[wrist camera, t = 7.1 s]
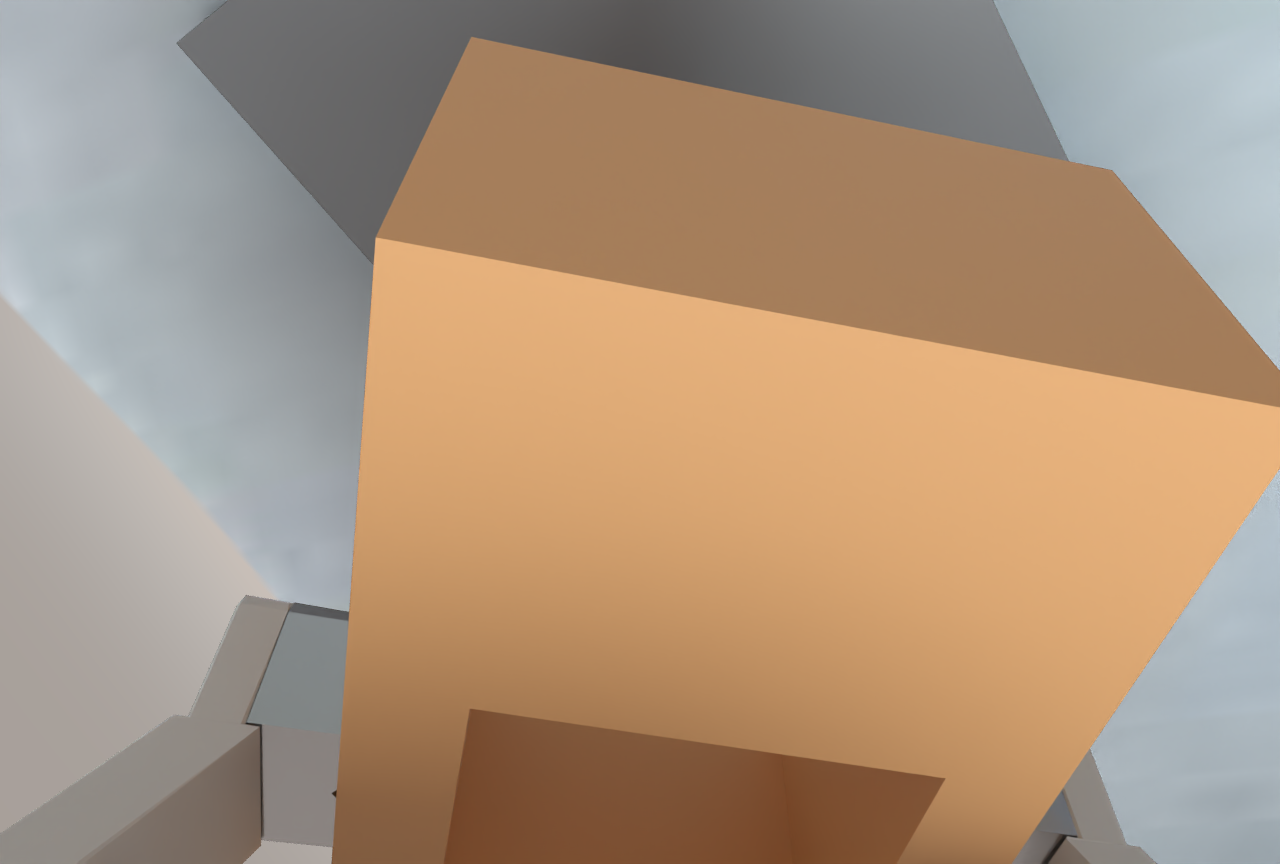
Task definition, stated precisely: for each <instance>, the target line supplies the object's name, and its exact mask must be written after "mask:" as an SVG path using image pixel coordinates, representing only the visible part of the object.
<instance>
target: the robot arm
mask: <svg viewBox="0 0 1280 864" xmlns="http://www.w3.org/2000/svg"><path fill="white" fill-rule="evenodd" d="M348 624H349V612H346V611H340V610H334V609H329V608H323V607H317V606H311V605H306V604H300V603H290V602H284V601H278V600H272V599H266V598H259V597H254V596H248V595H246V596H245V597H244V598H243V599H242V600H241V602H240V603H239V604H238V605H237V606H236V609H235V611H234V613H233V615H232V618H231V620H230V622H229V625H228V627H227V629H226V631H225V634H224V636H223V638H222V640H221V643H220V645H219V647H218V649H217V652H216V654H215V656H214V658H213V661H212V663H211V665H210V668H209V670H208V672H207V675H206V677H205V679H204V681H203V684H202V686H201V688H200V690H199V693H198V695H197V697H196V699H195V702H194V704H193V706H192V708H191V711H190V713H189V715H188V716H180V715H172V716H171V717H169V718H168V719H166V720H165V721H164V722H162V723H161V724H159V725H158V726H156V727H155V728H153V729H152V730H150V731H149V732H148V733H146V734H145V735H143V736H142V737H140V738H139V739H137V740H136V741H134V742H133V743H132V744H130V745H129V746H127V747H126V748H124V749H123V750H121V751H120V752H118V753H117V754H116V755H114V756H113V757H111V758H110V759H108V760H107V761H105V762H104V763H102V764H101V765H100V766H98V767H97V768H95V769H94V770H92V771H91V772H89V773H88V774H86V775H85V776H83V777H82V778H80V779H79V780H78V781H76V782H75V783H73V784H72V785H70V786H69V787H67V788H66V789H65V790H63V791H62V792H60V793H59V794H57V795H56V796H54V797H53V798H51V799H50V800H48V801H47V802H46V803H44V804H43V805H41V806H40V807H38V808H37V809H35V810H34V811H32V812H31V813H30V814H28V815H27V816H25V817H24V818H22V819H21V820H19V821H18V822H16V823H15V824H13V825H12V826H11V827H9V828H8V829H6V830H5V831H3V832H2V833H0V864H243V862H244V861H246V859H248V858H249V857H250V856H251V855H252V854H253V853H254V852H255V851H256V850H257V849H258V848H259V847H260V846H261V840H266V841H276V842H286V843H297V844H306V845H316V846H326V847H333V837H334V822H335V808H336V794H337V780H338V766H339V751H340V737H341V723H342V709H343V695H344V680H345V666H346V652H347V638H348ZM1012 864H1157V863H1156V862H1155V861H1154V860H1153V859H1152V858H1151V857H1149V856H1148V855H1147V854H1146V853H1145V852H1144V851H1143V850H1142V849H1141V848H1140V847H1137V846H1131V845H1127V843H1126V841H1125V838H1124V836H1123V833H1122V831H1121V828H1120V825H1119V823H1118V820H1117V818H1116V815H1115V812H1114V810H1113V807H1112V805H1111V802H1110V799H1109V797H1108V794H1107V792H1106V789H1105V787H1104V784H1103V781H1102V779H1101V776H1100V774H1099V771H1098V768H1097V766H1096V763H1095V761H1094V758H1093V756H1092V753H1091V750H1090V749H1089V750H1088V752H1087V753H1086V755H1085V756H1084V758H1083V759H1082V761H1081V762H1080V764H1079V765H1078V767H1077V768H1076V770H1075V771H1074V772H1073V774H1072V775H1071V777H1070V778H1069V780H1068V781H1067V783H1066V784H1065V786H1064V787H1063V789H1062V790H1061V792H1060V793H1059V795H1058V796H1057V798H1056V799H1055V800H1054V802H1053V803H1052V805H1051V806H1050V808H1049V809H1048V811H1047V812H1046V814H1045V815H1044V817H1043V818H1042V820H1041V821H1040V823H1039V824H1038V826H1037V827H1036V829H1035V830H1034V831H1033V833H1032V834H1031V836H1030V837H1029V839H1028V840H1027V842H1026V843H1025V845H1024V846H1023V848H1022V849H1021V851H1020V852H1019V854H1018V855H1017V857H1016V858H1015V859H1014V861H1013V862H1012Z"/></svg>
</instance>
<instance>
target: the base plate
mask: <svg viewBox="0 0 1280 864" xmlns="http://www.w3.org/2000/svg"><path fill="white" fill-rule="evenodd" d="M471 37H475V38H479V39H484V40H489V41H494V42H499V43H503V44H508V45H513V46H518V47H523V48H527V49H532V50H537V51H542V52H547V53H551V54H556V55H561V56H566V57H571V58H575V59H580V60H585V61H590V62H595V63H599V64H604V65H609V66H614V67H619V68H623V69H628V70H633V71H638V72H642V73H647V74H652V75H657V76H662V77H666V78H671V79H676V80H681V81H686V82H690V83H695V84H700V85H705V86H710V87H714V88H719V89H724V90H729V91H734V92H738V93H743V94H748V95H753V96H758V97H762V98H767V99H772V100H777V101H782V102H786V103H791V104H796V105H801V106H806V107H810V108H815V109H820V110H825V111H830V112H834V113H839V114H844V115H849V116H854V117H858V118H863V119H868V120H873V121H878V122H882V123H887V124H892V125H897V126H902V127H906V128H911V129H916V130H921V131H926V132H930V133H935V134H940V135H945V136H950V137H954V138H959V139H964V140H969V141H974V142H978V143H983V144H988V145H993V146H998V147H1002V148H1007V149H1012V150H1017V151H1022V152H1026V153H1031V154H1036V155H1041V156H1046V157H1050V158H1055V159H1060V160H1065V161H1068V158H1067V156H1066V154H1065V152H1064V150H1063V148H1062V146H1061V144H1060V142H1059V139H1058V137H1057V135H1056V133H1055V131H1054V129H1053V127H1052V125H1051V123H1050V120H1049V118H1048V116H1047V114H1046V112H1045V110H1044V108H1043V106H1042V103H1041V101H1040V99H1039V97H1038V95H1037V93H1036V91H1035V89H1034V87H1033V84H1032V82H1031V80H1030V78H1029V76H1028V74H1027V72H1026V70H1025V68H1024V65H1023V63H1022V61H1021V59H1020V57H1019V55H1018V53H1017V51H1016V49H1015V46H1014V44H1013V42H1012V40H1011V38H1010V36H1009V34H1008V32H1007V29H1006V27H1005V25H1004V23H1003V21H1002V19H1001V17H1000V15H999V13H998V10H997V8H996V6H995V4H994V2H993V0H228V1H227V2H226V3H225V4H224V5H222V6H221V7H220V8H219V9H217V10H216V11H215V12H214V13H212V14H211V15H210V16H209V17H208V18H206V19H205V20H204V21H203V22H201V23H200V24H199V25H198V26H197V27H195V28H194V29H193V30H192V31H190V32H189V33H188V34H187V35H186V36H184V37H183V38H182V39H181V40H180V41H178V42H177V45H178V46H179V47H180V48H181V49H182V50H183V51H184V52H185V54H186V55H187V56H188V57H189V58H190V59H191V60H192V61H193V63H194V64H195V65H196V66H197V67H198V68H199V69H200V70H201V72H202V73H203V74H204V75H205V76H206V77H207V78H208V79H209V81H210V82H211V83H212V84H213V85H214V86H215V87H216V88H217V90H218V91H219V92H220V93H221V94H222V95H223V96H224V97H225V99H226V100H227V101H228V102H229V103H230V104H231V105H232V106H233V108H234V109H235V110H236V111H237V112H238V113H239V114H240V115H241V117H242V118H243V119H244V120H245V121H246V122H247V123H248V124H249V126H250V127H251V128H252V129H253V130H254V131H255V132H256V133H257V135H258V136H259V137H260V138H261V139H262V140H263V141H264V142H265V144H266V145H267V146H268V147H269V148H270V149H271V150H272V151H273V153H274V154H275V155H276V156H277V157H278V158H279V159H280V160H281V162H282V163H283V164H284V165H285V166H286V167H287V168H288V169H289V171H290V172H291V173H292V174H293V175H294V176H295V177H296V178H297V180H298V181H299V182H300V183H301V184H302V185H303V186H304V187H305V189H306V190H307V191H308V192H309V193H310V194H311V195H312V196H313V197H314V199H315V200H316V201H317V202H318V203H319V204H320V205H321V206H322V208H323V209H324V210H325V211H326V212H327V213H328V214H329V215H330V217H331V218H332V219H333V220H334V221H335V222H336V223H337V224H338V226H339V227H340V228H341V229H342V230H343V231H344V232H345V233H346V235H347V236H348V237H349V238H350V239H351V240H352V241H353V242H354V244H355V245H356V246H357V247H358V248H359V249H360V250H361V251H362V253H363V254H364V255H365V256H366V257H367V258H368V259H369V260H370V262H371V263H372V264H373V265H374V254H375V240H376V236H377V234H378V231H379V229H380V227H381V225H382V223H383V221H384V219H385V217H386V215H387V213H388V210H389V208H390V206H391V204H392V202H393V200H394V198H395V196H396V194H397V192H398V190H399V187H400V185H401V183H402V181H403V179H404V177H405V175H406V173H407V171H408V169H409V166H410V164H411V162H412V160H413V158H414V156H415V154H416V152H417V150H418V148H419V145H420V143H421V141H422V139H423V137H424V135H425V133H426V131H427V129H428V127H429V125H430V122H431V120H432V118H433V116H434V114H435V112H436V110H437V108H438V106H439V104H440V101H441V99H442V97H443V95H444V93H445V91H446V89H447V87H448V85H449V83H450V81H451V78H452V76H453V74H454V72H455V70H456V68H457V66H458V64H459V62H460V60H461V57H462V55H463V53H464V51H465V49H466V47H467V45H468V43H469V41H470V39H471Z"/></svg>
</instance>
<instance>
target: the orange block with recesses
mask: <svg viewBox="0 0 1280 864" xmlns="http://www.w3.org/2000/svg"><path fill="white" fill-rule="evenodd" d="M1279 469H1280V371H1279V369H1278V368H1277V367H1276V366H1275V365H1274V363H1273V362H1272V361H1271V360H1270V359H1269V357H1268V356H1267V355H1266V354H1265V353H1264V351H1263V350H1262V349H1261V348H1260V347H1259V345H1258V344H1257V343H1256V342H1255V341H1254V339H1253V338H1252V337H1251V336H1250V335H1249V333H1248V332H1247V331H1246V330H1245V329H1244V327H1243V326H1242V325H1241V324H1240V323H1239V321H1238V320H1237V319H1236V318H1235V317H1234V316H1233V314H1232V313H1231V312H1230V311H1229V310H1228V308H1227V307H1226V306H1225V305H1224V304H1223V302H1222V301H1221V300H1220V299H1219V298H1218V296H1217V295H1216V294H1215V293H1214V292H1213V290H1212V289H1211V288H1210V287H1209V286H1208V284H1207V283H1206V282H1205V281H1204V280H1203V278H1202V277H1201V276H1200V275H1199V274H1198V272H1197V271H1196V270H1195V269H1194V268H1193V266H1192V265H1191V264H1190V263H1189V262H1188V260H1187V259H1186V258H1185V257H1184V256H1183V254H1182V253H1181V252H1180V251H1179V250H1178V249H1177V247H1176V246H1175V245H1174V244H1173V243H1172V241H1171V240H1170V239H1169V238H1168V237H1167V235H1166V234H1165V233H1164V232H1163V231H1162V229H1161V228H1160V227H1159V226H1158V225H1157V223H1156V222H1155V221H1154V220H1153V219H1152V217H1151V216H1150V215H1149V214H1148V213H1147V211H1146V210H1145V209H1144V208H1143V207H1142V205H1141V204H1140V203H1139V202H1138V201H1137V199H1136V198H1135V197H1134V196H1133V195H1132V193H1131V192H1130V191H1129V190H1128V189H1127V187H1126V186H1125V185H1124V184H1123V183H1122V182H1121V180H1120V179H1119V178H1118V177H1117V176H1116V174H1115V173H1114V172H1113V171H1112V170H1108V169H1103V168H1098V167H1094V166H1089V165H1084V164H1079V163H1074V162H1070V161H1065V160H1060V159H1055V158H1050V157H1046V156H1041V155H1036V154H1031V153H1026V152H1022V151H1017V150H1012V149H1007V148H1002V147H998V146H993V145H988V144H983V143H978V142H974V141H969V140H964V139H959V138H954V137H950V136H945V135H940V134H935V133H930V132H926V131H921V130H916V129H911V128H906V127H902V126H897V125H892V124H887V123H882V122H878V121H873V120H868V119H863V118H858V117H854V116H849V115H844V114H839V113H834V112H830V111H825V110H820V109H815V108H810V107H806V106H801V105H796V104H791V103H786V102H782V101H777V100H772V99H767V98H762V97H758V96H753V95H748V94H743V93H738V92H734V91H729V90H724V89H719V88H714V87H710V86H705V85H700V84H695V83H690V82H686V81H681V80H676V79H671V78H666V77H662V76H657V75H652V74H647V73H642V72H638V71H633V70H628V69H623V68H619V67H614V66H609V65H604V64H599V63H595V62H590V61H585V60H580V59H575V58H571V57H566V56H561V55H556V54H551V53H547V52H542V51H537V50H532V49H527V48H523V47H518V46H513V45H508V44H503V43H499V42H494V41H489V40H484V39H479V38H475V37H471V39H470V41H469V43H468V45H467V47H466V49H465V51H464V53H463V55H462V57H461V60H460V62H459V64H458V66H457V68H456V70H455V72H454V74H453V76H452V78H451V81H450V83H449V85H448V87H447V89H446V91H445V93H444V95H443V97H442V99H441V101H440V104H439V106H438V108H437V110H436V112H435V114H434V116H433V118H432V120H431V122H430V125H429V127H428V129H427V131H426V133H425V135H424V137H423V139H422V141H421V143H420V145H419V148H418V150H417V152H416V154H415V156H414V158H413V160H412V162H411V164H410V166H409V169H408V171H407V173H406V175H405V177H404V179H403V181H402V183H401V185H400V187H399V190H398V192H397V194H396V196H395V198H394V200H393V202H392V204H391V206H390V208H389V210H388V213H387V215H386V217H385V219H384V221H383V223H382V225H381V227H380V229H379V231H378V234H377V236H376V240H375V254H374V269H373V283H372V297H371V311H370V325H369V340H368V354H367V368H366V382H365V396H364V411H363V425H362V439H361V453H360V467H359V482H358V496H357V510H356V524H355V538H354V553H353V567H352V581H351V595H350V609H349V624H348V638H347V652H346V666H345V680H344V695H343V709H342V723H341V737H340V751H339V766H338V780H337V794H336V808H335V822H334V837H333V852H332V864H1012V862H1013V861H1014V859H1015V858H1016V857H1017V855H1018V854H1019V852H1020V851H1021V849H1022V848H1023V846H1024V845H1025V843H1026V842H1027V840H1028V839H1029V837H1030V836H1031V834H1032V833H1033V831H1034V830H1035V829H1036V827H1037V826H1038V824H1039V823H1040V821H1041V820H1042V818H1043V817H1044V815H1045V814H1046V812H1047V811H1048V809H1049V808H1050V806H1051V805H1052V803H1053V802H1054V800H1055V799H1056V798H1057V796H1058V795H1059V793H1060V792H1061V790H1062V789H1063V787H1064V786H1065V784H1066V783H1067V781H1068V780H1069V778H1070V777H1071V775H1072V774H1073V772H1074V771H1075V770H1076V768H1077V767H1078V765H1079V764H1080V762H1081V761H1082V759H1083V758H1084V756H1085V755H1086V753H1087V752H1088V750H1089V749H1090V747H1091V746H1092V744H1093V743H1094V741H1095V740H1096V739H1097V737H1098V736H1099V734H1100V733H1101V731H1102V730H1103V728H1104V727H1105V725H1106V724H1107V722H1108V721H1109V719H1110V718H1111V716H1112V715H1113V713H1114V712H1115V711H1116V709H1117V708H1118V706H1119V705H1120V703H1121V702H1122V700H1123V699H1124V697H1125V696H1126V694H1127V693H1128V691H1129V690H1130V688H1131V687H1132V685H1133V684H1134V682H1135V681H1136V680H1137V678H1138V677H1139V675H1140V674H1141V672H1142V671H1143V669H1144V668H1145V666H1146V665H1147V663H1148V662H1149V660H1150V659H1151V657H1152V656H1153V654H1154V653H1155V652H1156V650H1157V649H1158V647H1159V646H1160V644H1161V643H1162V641H1163V640H1164V638H1165V637H1166V635H1167V634H1168V632H1169V631H1170V629H1171V628H1172V626H1173V625H1174V623H1175V622H1176V621H1177V619H1178V618H1179V616H1180V615H1181V613H1182V612H1183V610H1184V609H1185V607H1186V606H1187V604H1188V603H1189V601H1190V600H1191V598H1192V597H1193V595H1194V594H1195V593H1196V591H1197V590H1198V588H1199V587H1200V585H1201V584H1202V582H1203V581H1204V579H1205V578H1206V576H1207V575H1208V573H1209V572H1210V570H1211V569H1212V567H1213V566H1214V564H1215V563H1216V562H1217V560H1218V559H1219V557H1220V556H1221V554H1222V553H1223V551H1224V550H1225V548H1226V547H1227V545H1228V544H1229V542H1230V541H1231V539H1232V538H1233V536H1234V535H1235V534H1236V532H1237V531H1238V529H1239V528H1240V526H1241V525H1242V523H1243V522H1244V520H1245V519H1246V517H1247V516H1248V514H1249V513H1250V511H1251V510H1252V508H1253V507H1254V505H1255V504H1256V503H1257V501H1258V500H1259V498H1260V497H1261V495H1262V494H1263V492H1264V491H1265V489H1266V488H1267V486H1268V485H1269V483H1270V482H1271V480H1272V479H1273V477H1274V476H1275V475H1276V473H1277V472H1278V470H1279Z"/></svg>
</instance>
